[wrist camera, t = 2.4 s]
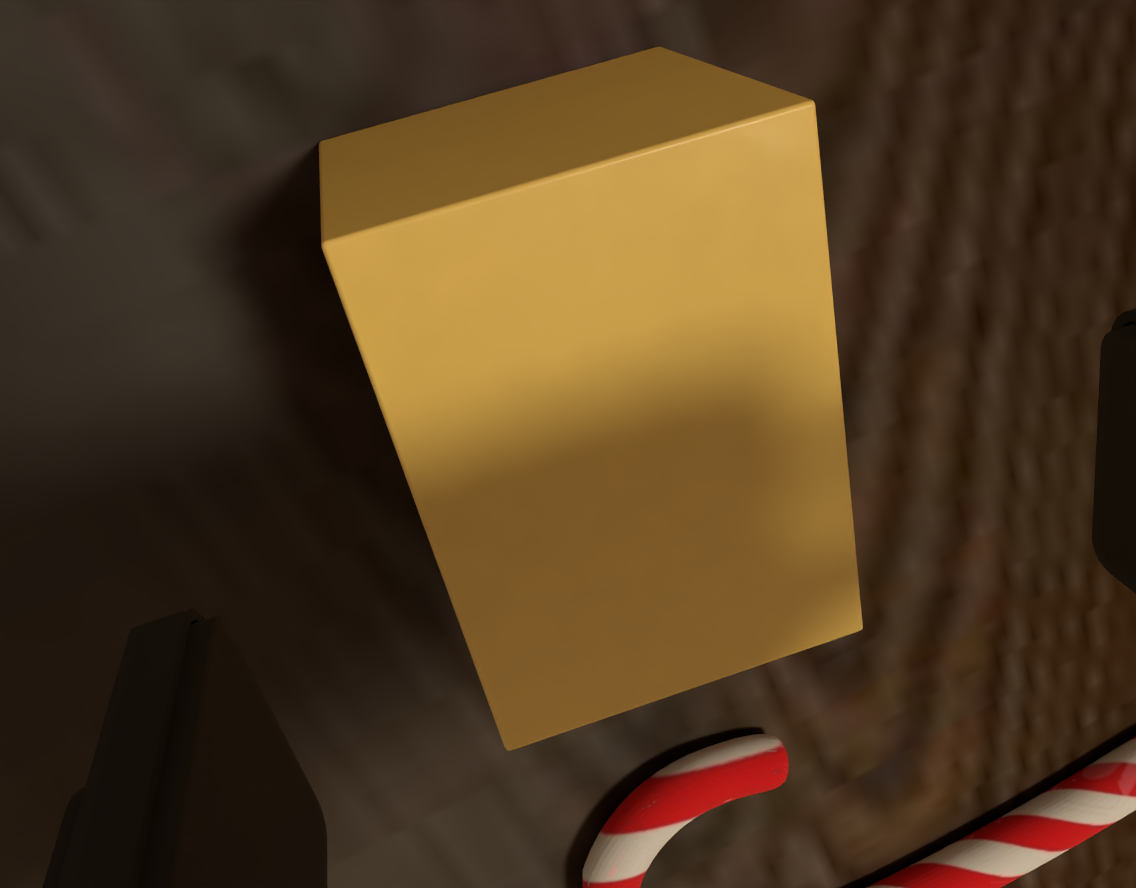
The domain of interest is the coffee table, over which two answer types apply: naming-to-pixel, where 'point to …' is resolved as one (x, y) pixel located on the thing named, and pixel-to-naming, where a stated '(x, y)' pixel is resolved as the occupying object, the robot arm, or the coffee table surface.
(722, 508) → the cheese
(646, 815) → the candy cane
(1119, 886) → the coffee table surface
